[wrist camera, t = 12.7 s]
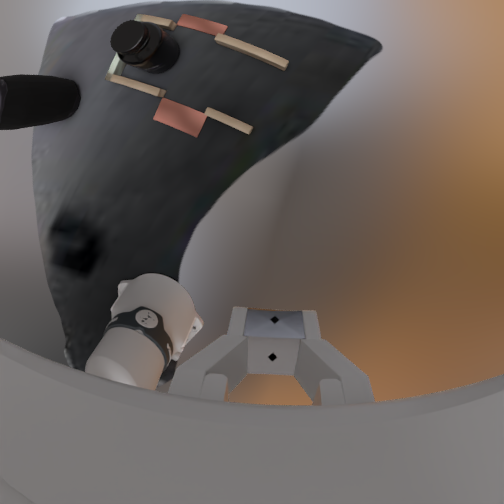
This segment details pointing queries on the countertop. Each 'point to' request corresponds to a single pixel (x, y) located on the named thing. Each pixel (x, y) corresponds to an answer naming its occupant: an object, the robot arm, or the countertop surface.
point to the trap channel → (179, 113)
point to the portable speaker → (35, 100)
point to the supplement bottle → (145, 46)
